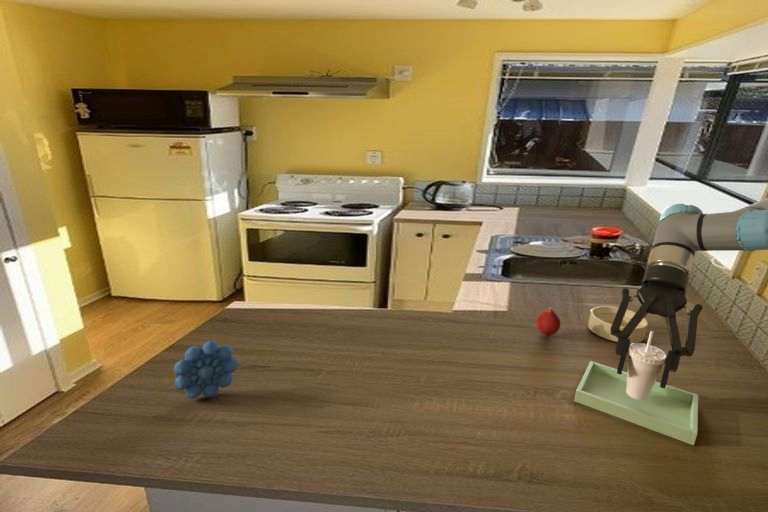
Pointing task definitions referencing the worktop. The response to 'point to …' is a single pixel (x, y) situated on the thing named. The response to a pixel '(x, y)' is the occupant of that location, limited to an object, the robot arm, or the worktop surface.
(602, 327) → the bowl
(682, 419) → the tray
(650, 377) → the smoothie
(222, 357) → the blue flower
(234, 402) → the worktop surface
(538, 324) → the onion
